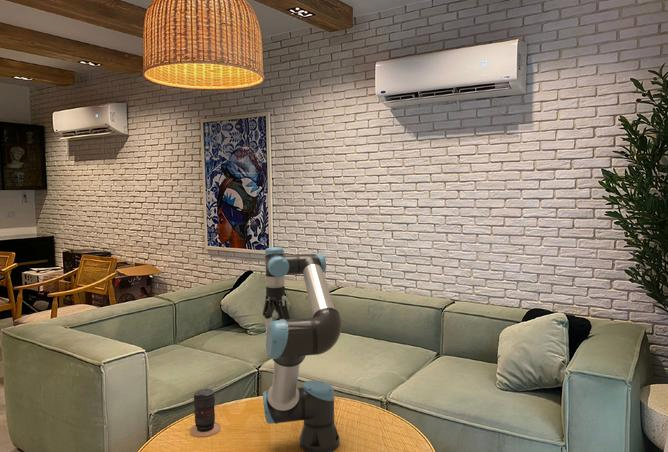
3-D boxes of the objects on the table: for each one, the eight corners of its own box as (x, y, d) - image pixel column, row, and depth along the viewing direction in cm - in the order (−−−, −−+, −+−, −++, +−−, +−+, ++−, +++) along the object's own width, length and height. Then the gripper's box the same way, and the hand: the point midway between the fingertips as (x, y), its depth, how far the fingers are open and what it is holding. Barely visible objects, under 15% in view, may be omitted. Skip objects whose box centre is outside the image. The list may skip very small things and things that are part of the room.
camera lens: (213, 432, 198) (211, 396, 197) (192, 433, 198) (191, 396, 197) (217, 423, 206) (216, 388, 205) (198, 423, 206) (196, 388, 205)
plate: (225, 431, 200) (225, 429, 200) (195, 440, 194) (195, 438, 194) (214, 420, 210) (214, 418, 210) (186, 428, 204) (186, 426, 204)
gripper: (298, 289, 192) (299, 343, 193) (270, 280, 213) (271, 329, 214) (281, 292, 188) (282, 347, 189) (253, 282, 209) (255, 332, 210)
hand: (276, 337), depth 202 cm, fingers open, 13 cm apart
